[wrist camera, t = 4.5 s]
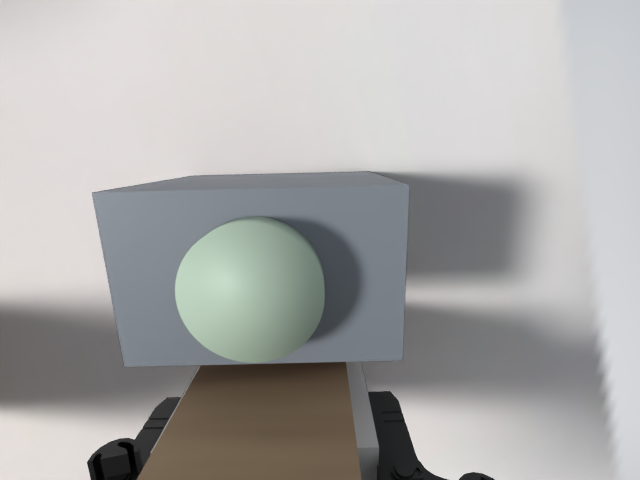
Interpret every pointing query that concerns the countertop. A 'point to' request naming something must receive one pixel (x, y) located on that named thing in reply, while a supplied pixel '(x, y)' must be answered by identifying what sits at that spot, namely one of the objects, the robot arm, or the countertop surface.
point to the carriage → (260, 425)
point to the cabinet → (257, 268)
